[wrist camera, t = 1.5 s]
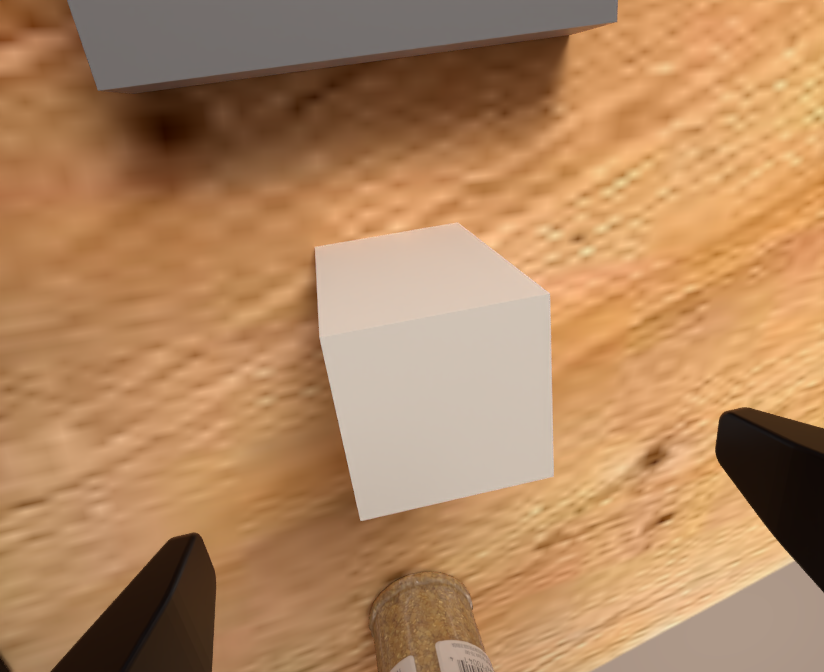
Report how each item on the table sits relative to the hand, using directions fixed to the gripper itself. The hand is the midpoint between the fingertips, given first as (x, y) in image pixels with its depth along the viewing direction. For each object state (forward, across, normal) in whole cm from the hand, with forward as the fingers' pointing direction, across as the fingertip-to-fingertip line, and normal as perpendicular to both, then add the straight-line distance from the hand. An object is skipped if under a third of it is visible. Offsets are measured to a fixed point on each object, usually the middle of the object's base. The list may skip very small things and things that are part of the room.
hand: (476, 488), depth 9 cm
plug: (+9, 0, 0) cm, 9 cm away
